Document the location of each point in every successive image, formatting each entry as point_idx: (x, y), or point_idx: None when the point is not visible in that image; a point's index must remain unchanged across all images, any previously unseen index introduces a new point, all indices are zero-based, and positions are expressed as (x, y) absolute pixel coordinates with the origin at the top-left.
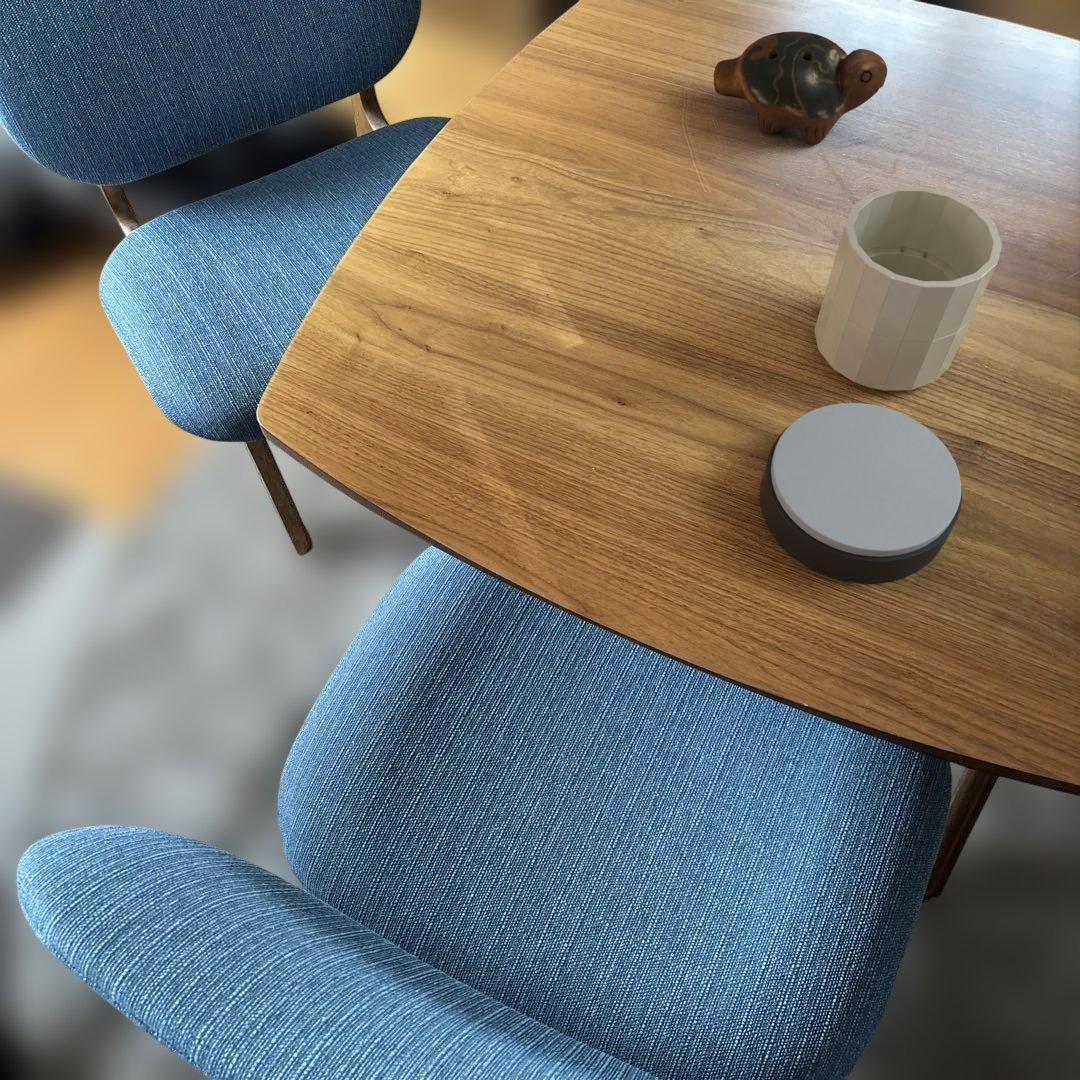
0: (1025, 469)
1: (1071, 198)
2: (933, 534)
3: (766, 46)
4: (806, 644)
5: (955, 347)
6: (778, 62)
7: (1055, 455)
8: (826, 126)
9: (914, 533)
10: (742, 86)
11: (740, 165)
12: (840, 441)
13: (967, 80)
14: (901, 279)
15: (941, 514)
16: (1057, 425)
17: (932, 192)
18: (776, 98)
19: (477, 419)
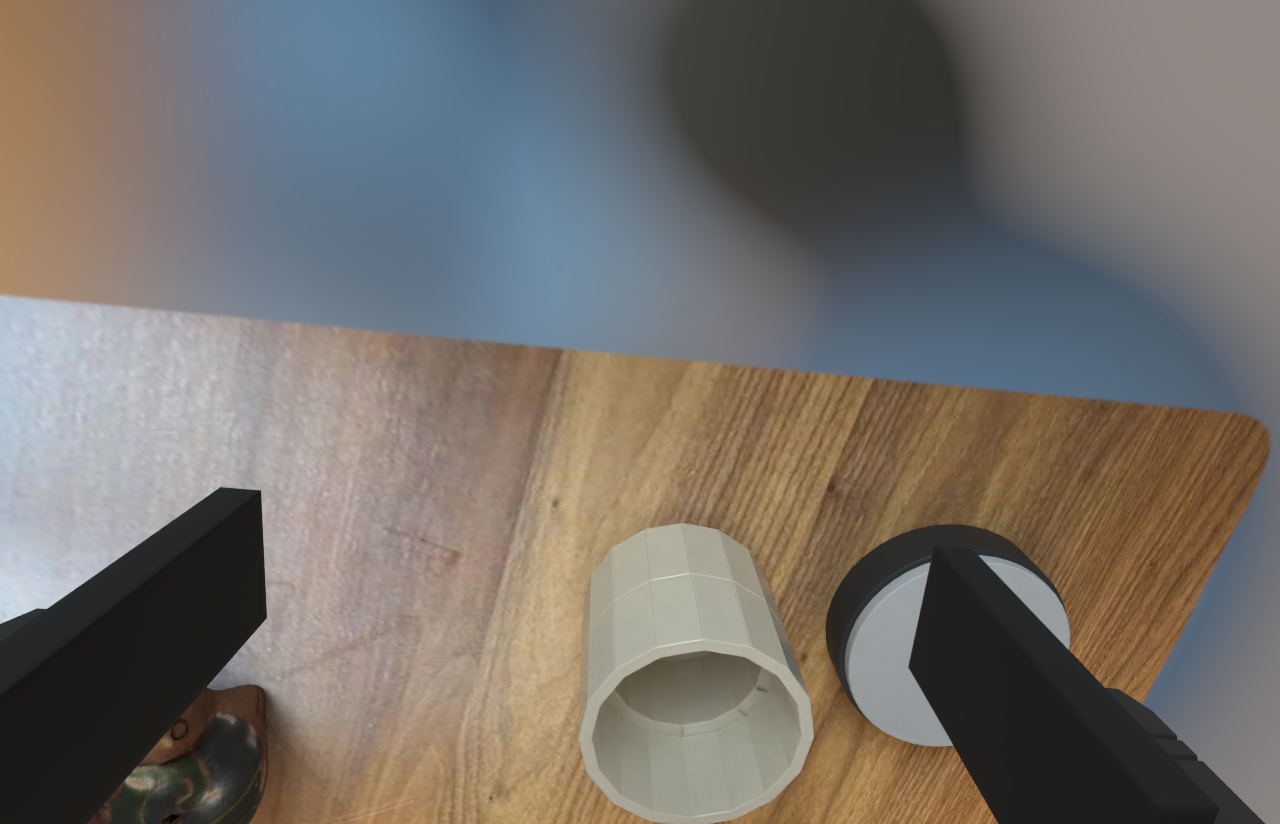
0: (871, 434)
1: (267, 320)
2: (1050, 592)
3: None
4: (1111, 654)
5: (736, 561)
6: None
7: (845, 395)
8: (254, 711)
9: (1047, 611)
10: None
11: (341, 769)
12: (912, 685)
13: None
14: (800, 761)
15: (1021, 583)
16: (792, 388)
17: (593, 727)
18: (252, 809)
19: None
